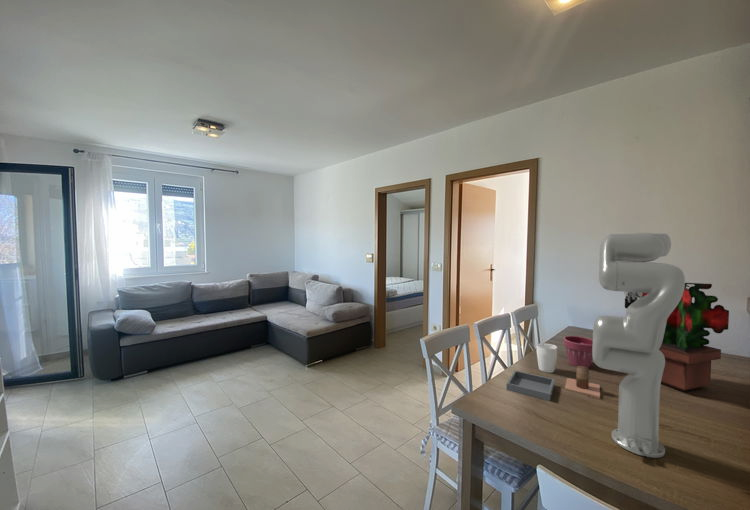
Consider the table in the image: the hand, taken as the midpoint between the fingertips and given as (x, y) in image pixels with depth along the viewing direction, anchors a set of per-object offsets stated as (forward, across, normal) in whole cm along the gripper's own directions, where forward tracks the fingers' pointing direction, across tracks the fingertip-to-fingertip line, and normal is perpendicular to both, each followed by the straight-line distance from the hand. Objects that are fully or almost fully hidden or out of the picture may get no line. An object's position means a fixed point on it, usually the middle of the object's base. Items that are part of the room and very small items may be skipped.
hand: (631, 310), depth 117 cm
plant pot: (+36, +33, +17) cm, 52 cm away
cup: (+36, +16, +30) cm, 50 cm away
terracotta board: (+36, +3, +15) cm, 39 cm away
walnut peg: (+35, +3, +15) cm, 38 cm away
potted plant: (+36, +32, -18) cm, 52 cm away
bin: (+36, -10, +33) cm, 50 cm away
